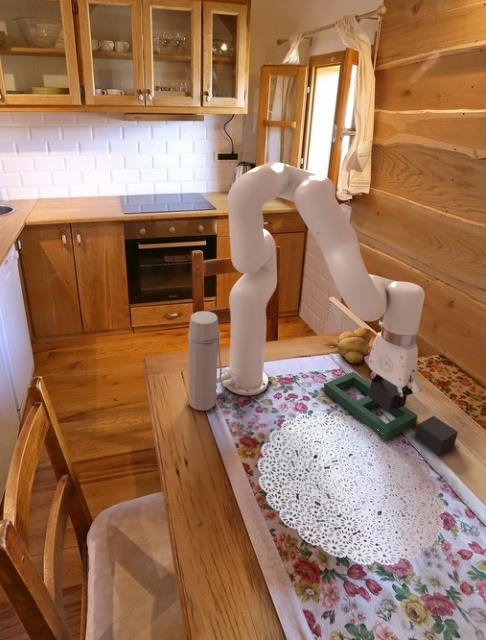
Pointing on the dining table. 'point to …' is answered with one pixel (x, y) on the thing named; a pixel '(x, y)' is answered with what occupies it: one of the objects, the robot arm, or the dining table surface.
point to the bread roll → (354, 344)
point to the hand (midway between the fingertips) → (386, 398)
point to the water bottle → (203, 360)
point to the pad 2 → (436, 435)
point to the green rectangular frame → (368, 406)
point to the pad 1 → (383, 393)
